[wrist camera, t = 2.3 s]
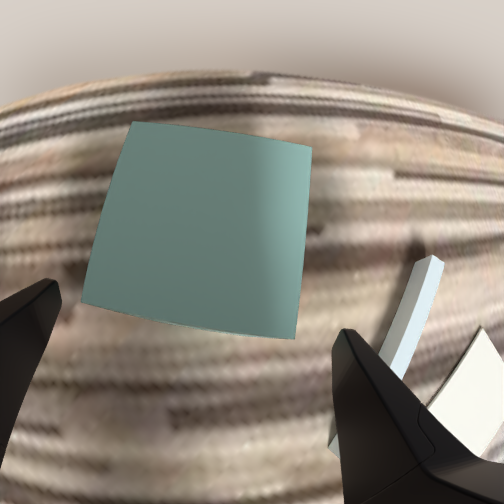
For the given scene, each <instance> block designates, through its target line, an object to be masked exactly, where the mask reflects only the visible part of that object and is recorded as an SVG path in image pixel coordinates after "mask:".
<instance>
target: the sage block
mask: <svg viewBox="0 0 504 504" xmlns="http://www.w3.org/2000/svg"><path fill="white" fill-rule="evenodd" d="M311 159H312V147H309V146H304V145H300V144H295V143H290V142H285V141H280V140H274V139H269V138H263V137H258V136H252V135H246V134H240V133H233V132H227V131H220V130H213V129H205V128H197V127H189V126H180V125H171V124H160V123H149V122H136V121H133V122H132V124H131V127H130V129H129V132H128V135H127V137H126V140H125V142H124V145H123V148H122V151H121V153H120V156H119V159H118V162H117V165H116V168H115V171H114V174H113V177H112V180H111V183H110V186H109V189H108V193H107V196H106V199H105V202H104V206H103V209H102V213H101V216H100V220H99V224H98V227H97V231H96V235H95V239H94V243H93V247H92V251H91V255H90V259H89V264H88V268H87V273H86V278H85V283H84V288H83V293H82V298H81V302H82V303H86V304H89V305H93V306H97V307H100V308H104V309H108V310H112V311H116V312H119V313H123V314H127V315H132V316H136V317H140V318H144V319H148V320H153V321H157V322H161V323H167V324H172V325H178V326H183V327H189V328H195V329H201V330H207V331H213V332H220V333H226V334H233V335H240V336H248V337H262V338H279V339H295V333H296V325H297V316H298V308H299V299H300V290H301V281H302V271H303V261H304V250H305V239H306V228H307V216H308V203H309V190H310V175H311Z"/></svg>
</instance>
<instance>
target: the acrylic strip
mask: <svg viewBox="0 0 504 504" xmlns="http://www.w3.org/2000/svg"><path fill="white" fill-rule="evenodd" d="M444 265H445V263H444V262H442V261H441V260H439V259H438V258H437V257H435V256H434V255H431V256H428V257H426V258H424V259H421V260H419V261H417V262H415V264H414V267H413V270H412V273H411V275H410V278H409V281H408V284H407V286H406V289H405V292H404V294H403V297H402V300H401V302H400V305H399V307H398V310H397V312H396V315H395V317H394V319H393V322H392V324H391V327H390V329H389V331H388V334H387V336H386V338H385V340H384V343H383V345H382V347H381V349H380V351H379V354H378V355H379V356H380V357H381V359H382V360H383V361H384V362H385V363H386V364H387V365H388V366H389V367H390V368H391V369H392V370H393V372H394V373H395V374H396V375H397V376H398V377H399V378H400V379H401V380H402V378H403V376H404V374H405V372H406V369H407V367H408V365H409V363H410V360H411V358H412V356H413V353H414V351H415V348H416V346H417V343H418V341H419V338H420V336H421V333H422V331H423V328H424V325H425V323H426V320H427V317H428V315H429V312H430V309H431V306H432V303H433V300H434V297H435V294H436V291H437V288H438V285H439V282H440V278H441V275H442V272H443V268H444ZM328 449H329V450H330V451H332V452H333V453H334V454H335V455H336V456H337V457H338V458H339V459H340V453H339V444H338V435H337V434H336V435H335V437H334V439H333V440H332V442H331V444H330V445H329V447H328Z"/></svg>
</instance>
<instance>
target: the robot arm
mask: <svg viewBox="0 0 504 504" xmlns="http://www.w3.org/2000/svg"><path fill="white" fill-rule="evenodd" d="M61 305H62V299H61V294H60V290H59V285H58V282H57V281H56V280H54V279H49V278H45V279H43V280H41V281H39V282H37V283H35V284H33V285H31V286H29V287H27V288H25V289H23V290H21V291H19V292H17V293H15V294H13V295H11V296H10V297H8V298H6V299H4V300H2V301H0V468H1V465H2V461H3V458H4V455H5V451H6V448H7V445H8V442H9V438H10V435H11V433H12V430H13V427H14V424H15V421H16V418H17V416H18V413H19V410H20V408H21V405H22V402H23V400H24V397H25V395H26V392H27V390H28V387H29V385H30V382H31V380H32V378H33V375H34V373H35V371H36V368H37V366H38V364H39V362H40V359H41V357H42V355H43V353H44V351H45V348H46V346H47V344H48V341H49V339H50V336H51V333H52V330H53V327H54V325H55V322H56V319H57V317H58V314H59V311H60V309H61ZM332 393H333V403H334V411H335V419H336V427H337V435H338V444H339V453H340V463H341V473H342V483H343V495H344V504H504V464H502V463H496V462H491V461H487V460H484V459H481V458H479V457H478V456H476V455H475V454H473V453H472V452H471V451H470V450H469V449H468V448H467V447H466V446H465V445H464V444H462V443H461V442H460V441H459V440H458V439H457V438H456V437H455V436H454V435H453V434H452V433H451V432H450V431H449V430H447V429H446V428H445V427H444V426H443V425H442V424H441V423H440V422H439V421H438V420H437V419H436V418H435V416H434V415H433V414H432V413H431V412H430V411H429V410H428V409H427V408H426V407H425V406H424V405H423V403H421V401H420V400H419V399H418V398H417V397H416V396H415V395H414V394H413V392H412V391H411V390H410V389H409V388H408V387H407V386H406V385H405V384H404V383H403V381H402V380H401V379H400V378H399V377H398V376H397V375H396V374H395V373H394V372H393V370H392V369H391V368H390V367H389V366H388V365H387V364H386V363H385V362H384V361H383V360H382V359H381V357H380V356H379V355H378V354H377V353H376V352H375V351H374V350H373V349H372V348H371V347H370V346H369V344H368V343H367V342H366V341H365V340H364V339H363V338H362V337H361V336H360V335H359V334H358V333H357V332H356V331H355V330H354V329H345V328H344V329H341V331H340V332H339V334H338V336H337V339H336V341H335V343H334V345H333V347H332Z"/></svg>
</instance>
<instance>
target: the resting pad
mask: <svg viewBox="0 0 504 504" xmlns="http://www.w3.org/2000/svg"><path fill="white" fill-rule="evenodd" d="M427 409H428V410H429V411H430V412H431V413H432V414H433V415H434V416H435V418H436V419H437V420H438V421H439V422H440V423H441V424H442V425H443V426H444V427H445V428H446V429H447V430H449V431H450V432H451V433H452V434H453V435H454V436H455V437H456V438H457V439H458V440H459V441H460V442H461V443H462V444H464V445H465V446H466V447H467V448H468V449H469V450H470V451H471V452H472V453H473V454H475V455H476V456H478V457H480V456H481V454H482V453H483V451H484V450H485V449H486V447H487V446H488V444H489V443H490V441H491V440H492V438H493V437H494V435H495V434H496V432H497V431H498V429H499V427H500V426H501V424H502V423H503V421H504V362H503V360H502V359H501V357H500V355H499V354H498V352H497V350H496V349H495V347H494V345H493V344H492V342H491V341H490V339H489V337H488V336H487V334H486V333H485V331H484V330H483V328H481V329H480V330H479V332H478V333H477V335H476V337H475V338H474V340H473V342H472V343H471V345H470V347H469V348H468V350H467V351H466V353H465V355H464V356H463V358H462V359H461V361H460V362H459V364H458V365H457V367H456V368H455V370H454V371H453V373H452V374H451V376H450V377H449V378H448V380H447V381H446V383H445V384H444V385H443V387H442V388H441V390H440V391H439V392H438V394H437V395H436V396H435V398H434V399H433V400H432V402H431V403H430V404H429V405H428V407H427Z"/></svg>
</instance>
